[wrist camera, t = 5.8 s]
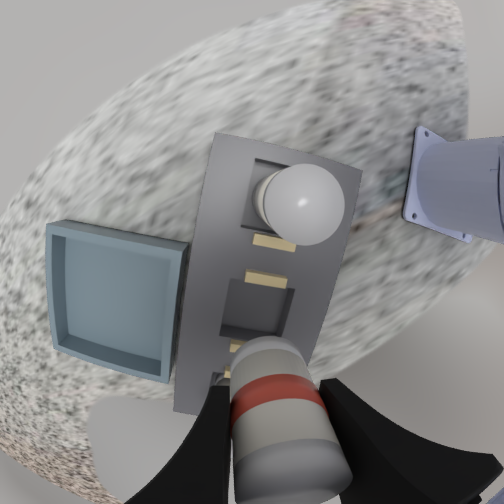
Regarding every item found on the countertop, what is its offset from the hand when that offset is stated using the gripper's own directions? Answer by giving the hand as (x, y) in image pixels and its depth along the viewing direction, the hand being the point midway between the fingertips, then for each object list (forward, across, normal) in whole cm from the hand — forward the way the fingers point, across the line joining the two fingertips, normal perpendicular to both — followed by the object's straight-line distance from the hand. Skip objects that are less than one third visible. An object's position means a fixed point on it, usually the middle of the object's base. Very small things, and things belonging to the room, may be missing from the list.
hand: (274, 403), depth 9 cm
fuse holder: (+10, 0, 0) cm, 10 cm away
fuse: (+9, -1, -7) cm, 12 cm away
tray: (+10, +10, 0) cm, 14 cm away
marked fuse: (+2, 0, 0) cm, 2 cm away
